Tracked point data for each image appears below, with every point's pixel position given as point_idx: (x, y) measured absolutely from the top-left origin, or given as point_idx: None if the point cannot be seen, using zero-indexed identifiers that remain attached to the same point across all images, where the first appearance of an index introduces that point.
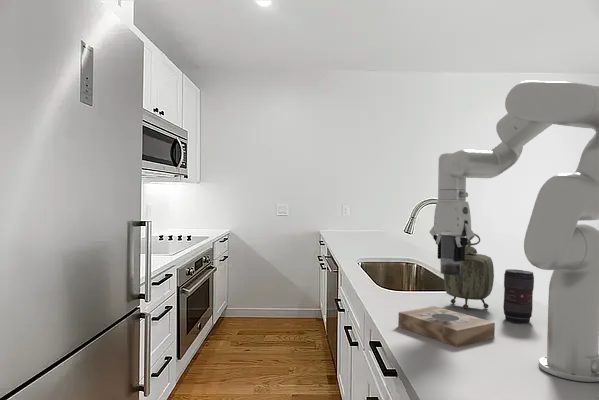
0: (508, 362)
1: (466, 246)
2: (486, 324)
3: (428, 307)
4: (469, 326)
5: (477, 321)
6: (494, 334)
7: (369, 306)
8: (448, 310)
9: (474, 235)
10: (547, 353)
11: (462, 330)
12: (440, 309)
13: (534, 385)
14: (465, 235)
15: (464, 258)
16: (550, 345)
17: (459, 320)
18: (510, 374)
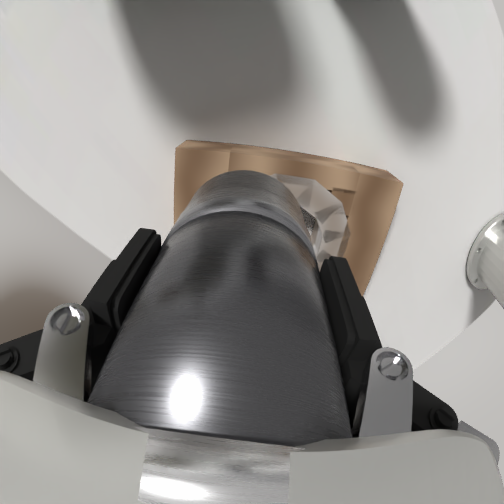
0: (432, 285)
1: (399, 352)
2: (392, 218)
3: (175, 182)
4: (367, 267)
5: (366, 210)
6: (389, 173)
7: (27, 192)
8: (240, 160)
9: (494, 450)
10: (484, 279)
11: (361, 294)
12: (215, 171)
13: (455, 323)
14: (414, 443)
15: (347, 265)
16: (493, 294)
17: (327, 239)
18: (435, 318)
